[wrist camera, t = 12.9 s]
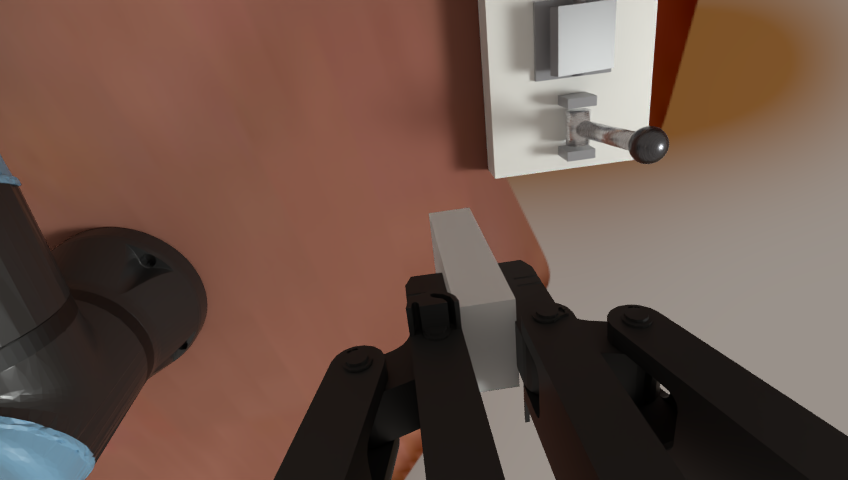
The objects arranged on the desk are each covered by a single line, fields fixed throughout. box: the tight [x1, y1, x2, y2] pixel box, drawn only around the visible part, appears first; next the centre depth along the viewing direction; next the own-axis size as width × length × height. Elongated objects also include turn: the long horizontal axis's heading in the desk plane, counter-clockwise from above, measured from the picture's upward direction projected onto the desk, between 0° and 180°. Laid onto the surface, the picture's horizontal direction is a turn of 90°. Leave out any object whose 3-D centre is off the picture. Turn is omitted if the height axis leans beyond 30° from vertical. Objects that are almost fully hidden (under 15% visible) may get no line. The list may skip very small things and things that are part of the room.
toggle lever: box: [566, 108, 669, 164], centre depth 38 cm, size 3×3×10 cm
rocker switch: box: [550, 0, 617, 77], centre depth 38 cm, size 5×6×2 cm
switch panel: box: [478, 0, 658, 179], centre depth 40 cm, size 14×22×5 cm, turn 7°
